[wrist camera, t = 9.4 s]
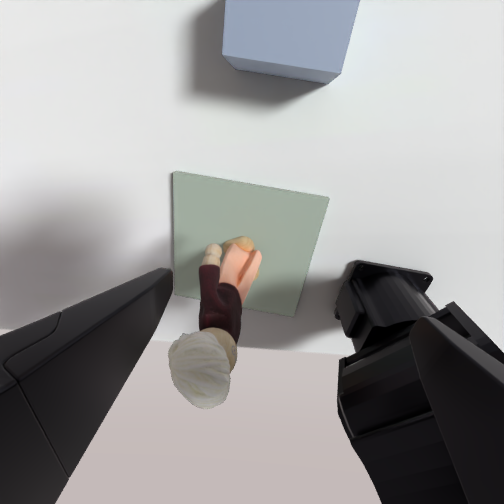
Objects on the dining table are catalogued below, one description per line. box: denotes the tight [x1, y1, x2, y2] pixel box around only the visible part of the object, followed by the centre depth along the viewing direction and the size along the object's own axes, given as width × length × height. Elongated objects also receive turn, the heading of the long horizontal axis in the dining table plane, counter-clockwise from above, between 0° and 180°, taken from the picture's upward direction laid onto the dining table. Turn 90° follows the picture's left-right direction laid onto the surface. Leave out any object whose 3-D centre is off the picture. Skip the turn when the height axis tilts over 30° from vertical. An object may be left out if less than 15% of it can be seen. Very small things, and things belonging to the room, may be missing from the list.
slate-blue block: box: [222, 0, 360, 84], centre depth 13 cm, size 6×4×4 cm, turn 82°
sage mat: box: [173, 171, 329, 317], centre depth 22 cm, size 12×12×1 cm
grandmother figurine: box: [168, 236, 262, 409], centre depth 16 cm, size 8×4×13 cm, turn 19°
